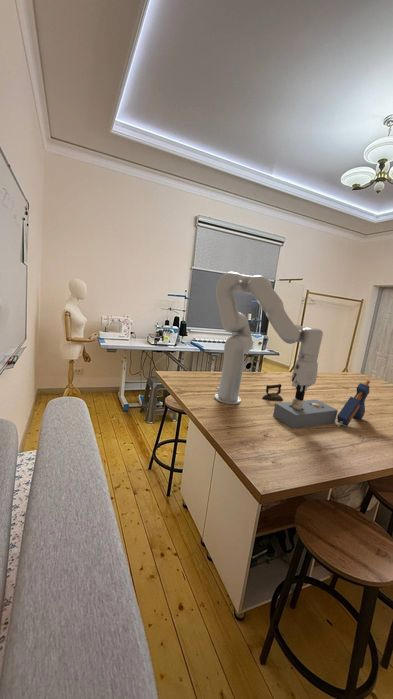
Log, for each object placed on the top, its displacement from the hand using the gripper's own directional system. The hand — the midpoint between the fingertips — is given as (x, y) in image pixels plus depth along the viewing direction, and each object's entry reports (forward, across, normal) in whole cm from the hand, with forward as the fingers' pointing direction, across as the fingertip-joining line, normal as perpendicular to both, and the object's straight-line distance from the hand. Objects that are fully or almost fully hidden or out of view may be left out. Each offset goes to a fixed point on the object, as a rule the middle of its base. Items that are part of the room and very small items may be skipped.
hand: (299, 399), depth 123 cm
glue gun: (+11, +28, -7) cm, 31 cm away
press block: (+10, +6, 0) cm, 12 cm away
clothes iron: (+10, +8, +24) cm, 27 cm away
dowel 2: (+10, +13, 0) cm, 16 cm away
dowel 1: (+6, 0, 0) cm, 6 cm away
